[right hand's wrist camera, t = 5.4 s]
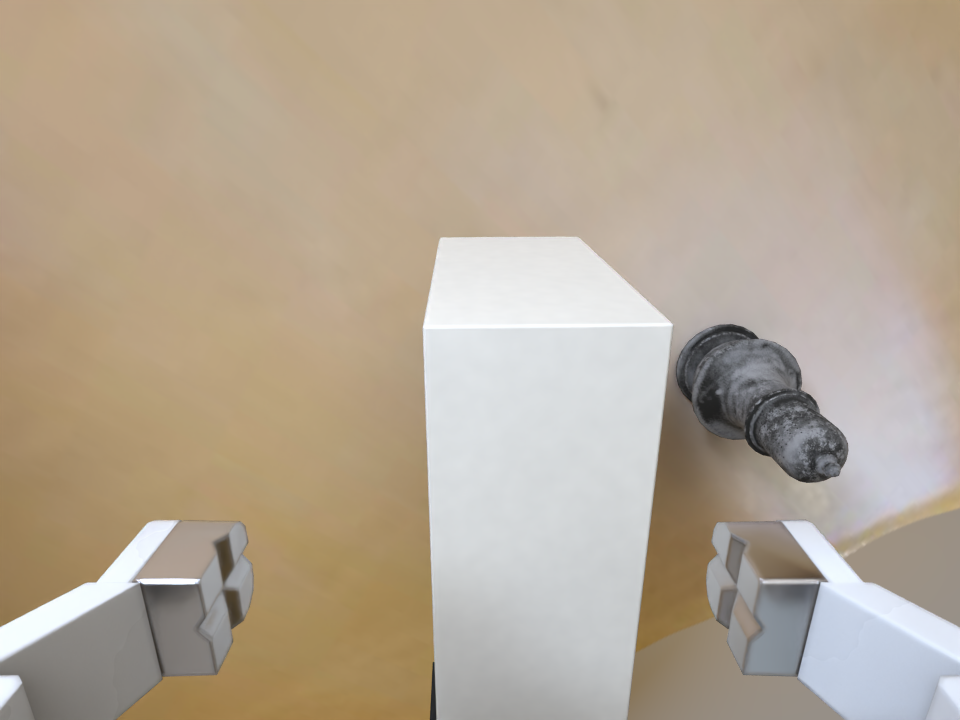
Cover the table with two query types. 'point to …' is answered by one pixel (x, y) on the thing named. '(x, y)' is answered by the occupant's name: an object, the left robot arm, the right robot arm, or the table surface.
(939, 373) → the table surface
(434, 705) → the left robot arm
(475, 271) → the box
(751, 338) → the dark grey chess piece
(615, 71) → the table surface
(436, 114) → the table surface
